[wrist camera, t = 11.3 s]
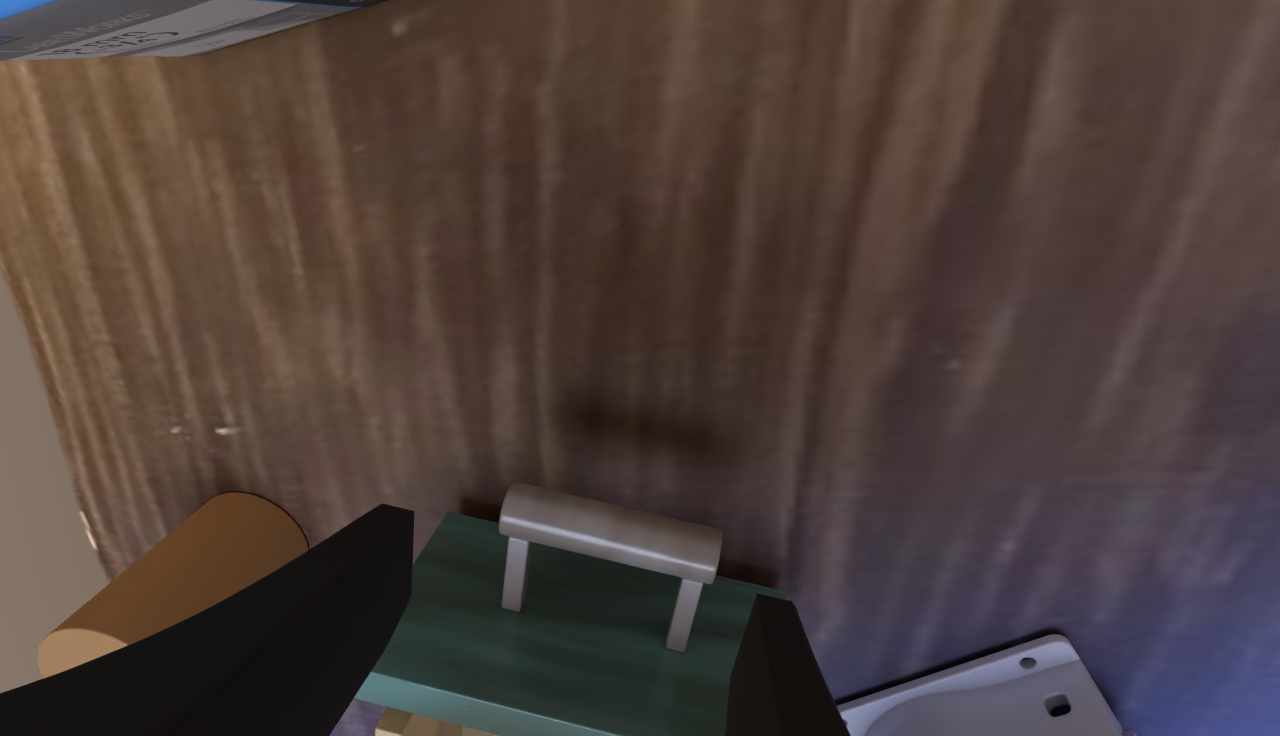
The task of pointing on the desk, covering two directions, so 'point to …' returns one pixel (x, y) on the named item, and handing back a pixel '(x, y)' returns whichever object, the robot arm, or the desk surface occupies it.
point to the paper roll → (178, 578)
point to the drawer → (564, 626)
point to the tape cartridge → (148, 25)
